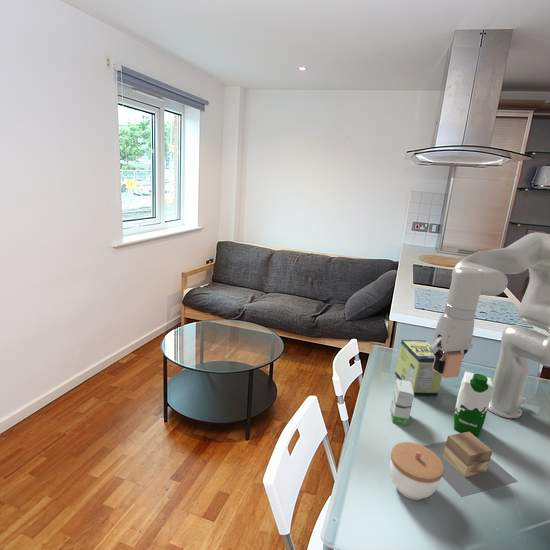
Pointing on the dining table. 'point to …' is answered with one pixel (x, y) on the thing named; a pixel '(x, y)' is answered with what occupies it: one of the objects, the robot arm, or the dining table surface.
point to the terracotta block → (451, 364)
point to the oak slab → (461, 466)
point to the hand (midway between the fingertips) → (445, 369)
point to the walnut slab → (468, 448)
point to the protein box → (418, 367)
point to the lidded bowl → (415, 470)
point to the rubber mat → (472, 483)
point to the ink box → (401, 402)
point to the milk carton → (472, 403)
